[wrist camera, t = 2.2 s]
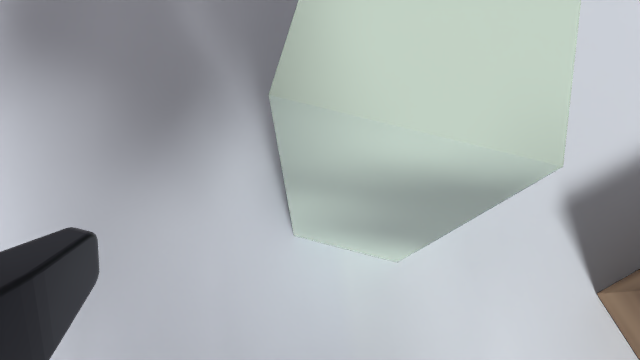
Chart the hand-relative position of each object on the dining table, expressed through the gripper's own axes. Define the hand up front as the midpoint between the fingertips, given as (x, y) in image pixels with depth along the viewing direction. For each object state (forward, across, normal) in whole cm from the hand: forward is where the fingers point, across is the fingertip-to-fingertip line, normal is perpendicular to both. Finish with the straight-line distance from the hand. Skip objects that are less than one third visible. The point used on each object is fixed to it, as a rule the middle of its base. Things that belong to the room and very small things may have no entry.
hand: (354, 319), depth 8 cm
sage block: (+12, 0, +5) cm, 13 cm away
